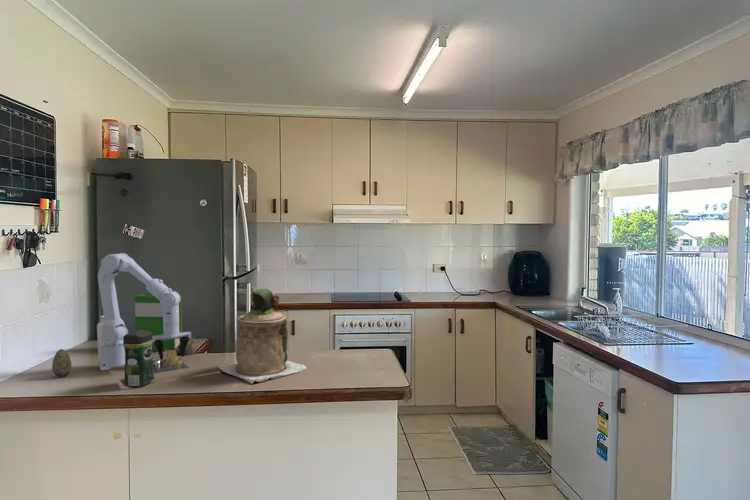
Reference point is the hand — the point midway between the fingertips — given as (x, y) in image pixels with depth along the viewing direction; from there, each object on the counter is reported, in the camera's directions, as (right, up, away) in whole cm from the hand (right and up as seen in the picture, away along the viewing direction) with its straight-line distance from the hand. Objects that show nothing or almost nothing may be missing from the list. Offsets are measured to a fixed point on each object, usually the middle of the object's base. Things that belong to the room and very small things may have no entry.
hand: (171, 357), depth 200 cm
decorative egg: (-35, -4, -13) cm, 37 cm away
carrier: (-2, -4, -3) cm, 5 cm away
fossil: (-2, -3, +18) cm, 18 cm away
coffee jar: (-3, -5, -22) cm, 23 cm away
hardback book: (-17, -2, +29) cm, 34 cm away
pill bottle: (-39, -2, +28) cm, 48 cm away
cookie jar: (+37, -4, -6) cm, 37 cm away
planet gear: (0, -2, 0) cm, 2 cm away
